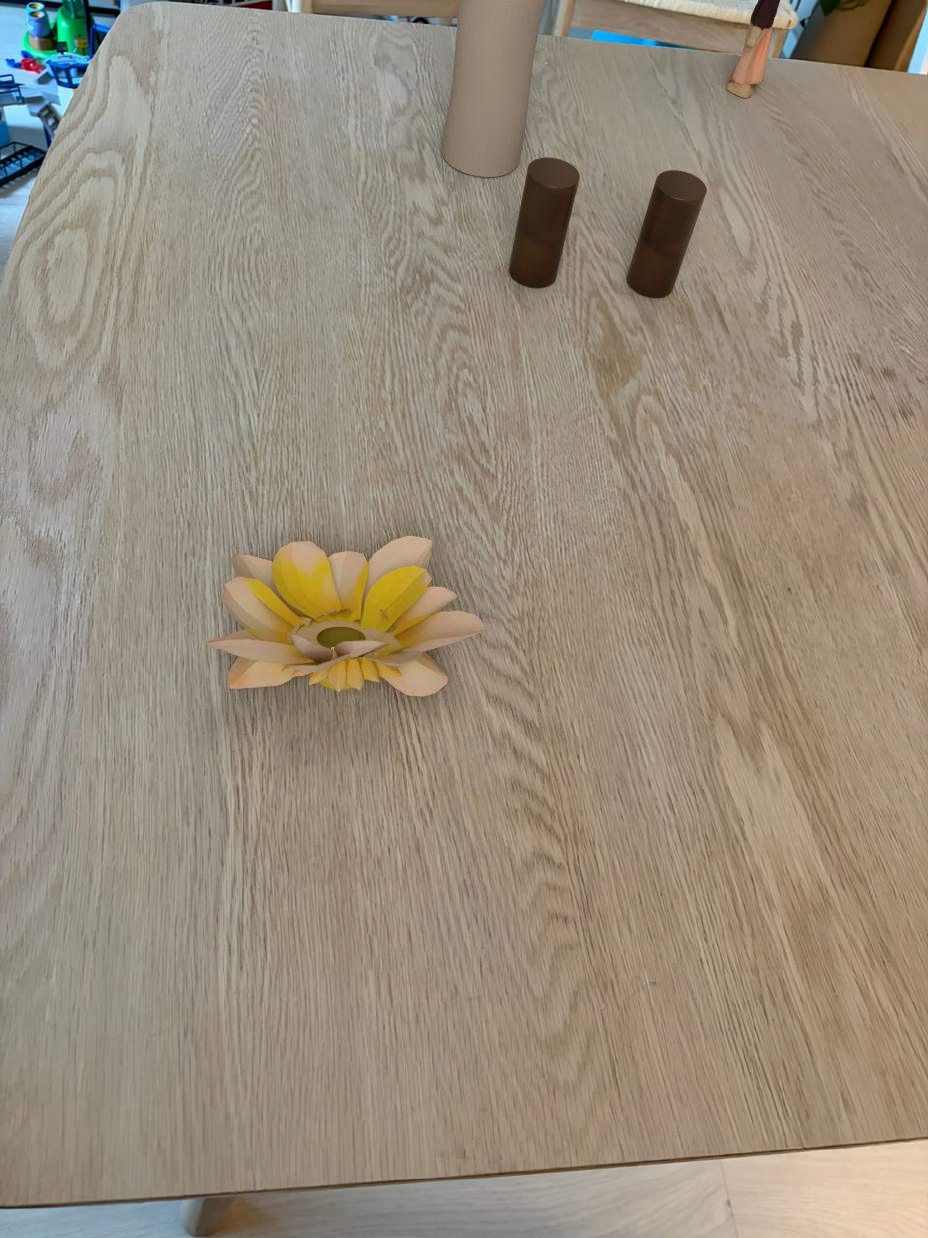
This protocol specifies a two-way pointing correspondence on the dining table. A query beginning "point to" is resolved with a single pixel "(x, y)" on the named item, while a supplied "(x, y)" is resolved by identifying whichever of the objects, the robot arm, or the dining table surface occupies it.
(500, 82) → the candle
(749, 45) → the grandmother figurine
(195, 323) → the dining table surface
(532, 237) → the marker row
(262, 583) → the decorative flower
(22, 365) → the dining table surface
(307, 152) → the dining table surface
